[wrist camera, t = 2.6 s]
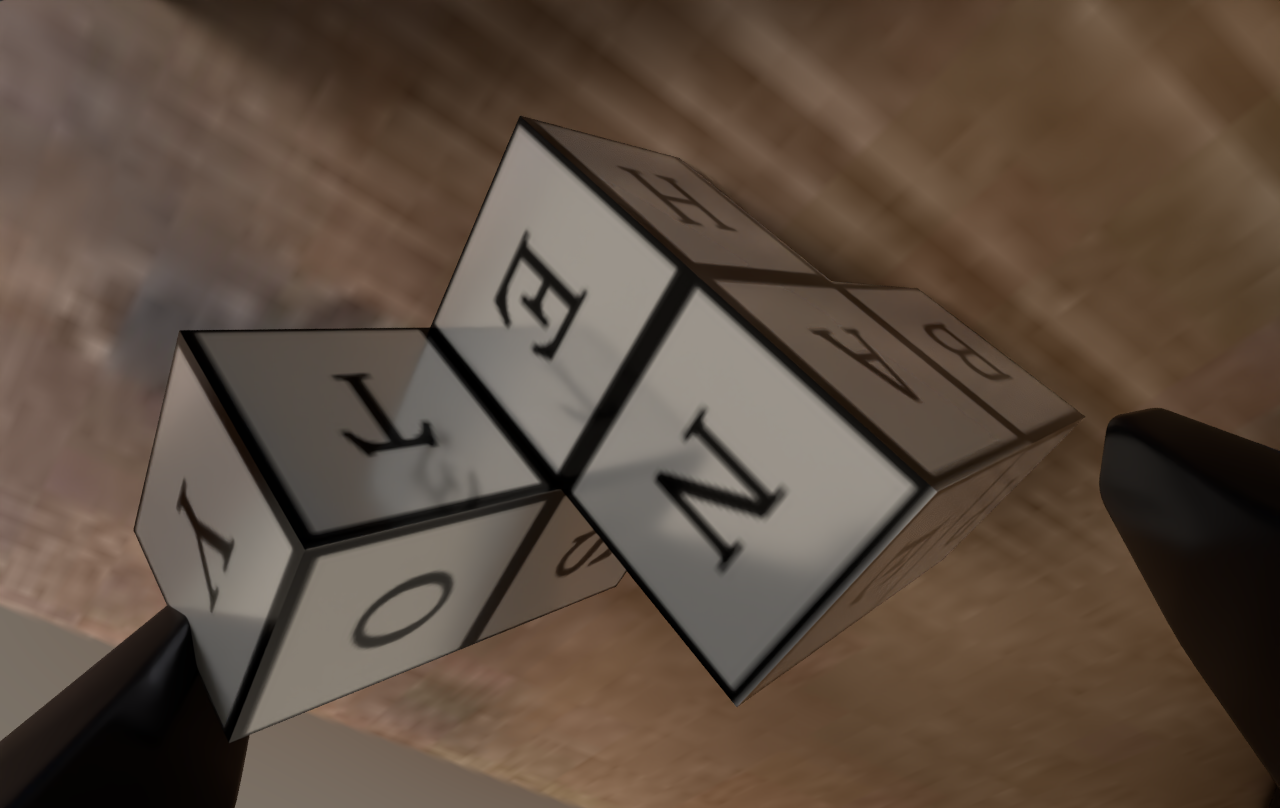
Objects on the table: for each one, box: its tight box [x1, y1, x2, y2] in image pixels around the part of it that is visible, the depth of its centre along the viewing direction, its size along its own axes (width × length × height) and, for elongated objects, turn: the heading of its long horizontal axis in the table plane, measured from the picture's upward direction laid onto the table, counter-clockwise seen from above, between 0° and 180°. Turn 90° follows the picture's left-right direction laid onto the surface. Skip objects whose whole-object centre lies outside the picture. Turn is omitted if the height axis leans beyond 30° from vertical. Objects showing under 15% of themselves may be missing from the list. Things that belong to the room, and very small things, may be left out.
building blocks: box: [134, 116, 1085, 743], centre depth 9 cm, size 5×5×8 cm
